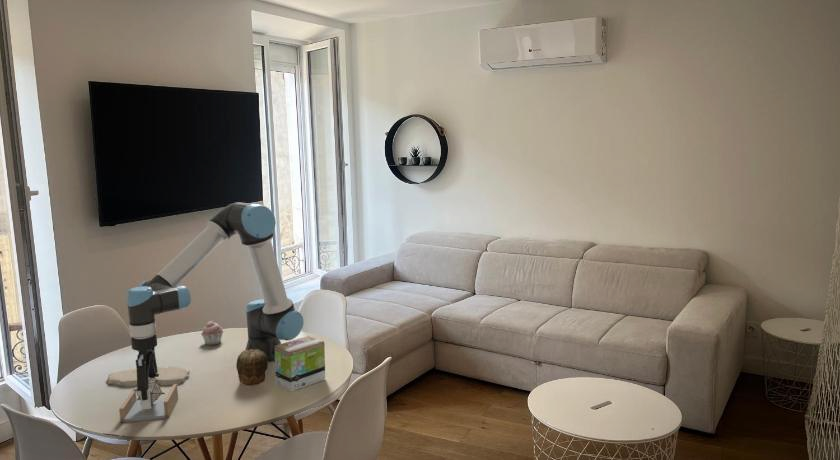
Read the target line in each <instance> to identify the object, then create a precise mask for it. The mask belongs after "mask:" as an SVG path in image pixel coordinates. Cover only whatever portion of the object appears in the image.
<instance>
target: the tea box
mask: <svg viewBox="0 0 840 460" xmlns="http://www.w3.org/2000/svg"><path fill="white" fill-rule="evenodd" d="M325 351H326V350H325V341H324V340H321V339H319V338H315V337H314V336H313V337H312V336H309V335H307V336H304V337H300V338H297V339H296V338H295V339H292V340H288V341H287V342H283V343H281V344H279V345H276V346H275V361H274V367H275V368H274V371H275V372H274V373H275V385H276V386H278V387H280V388H282V389H284V390H287V391H289V392H292V393H293V392H294V391H296V390H298V389H299V390H300V389H301V388H304V387H305V388H306V387H307V386H310V385H312V384H316V383H318V382H322V381H325V380H326V356H325V355H326V354H325V353H326V352H325ZM324 379H325V380H324Z"/></svg>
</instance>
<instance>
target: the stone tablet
mask: <svg viewBox="0 0 840 460" xmlns="http://www.w3.org/2000/svg"><path fill="white" fill-rule="evenodd" d="M157 370H158V372H157V373H156V374H159V377H155V378H156V380H158V381H157V383H158V384H159V383H160V385H159V386H173V384H177V385H181V384H183V383H185V381H186V380H188V379H189V378H190V374H191V372H190V371H191V370H189V369H185V368H183V367H180V366H179V367H177V366H168V367H165V366H162V367H160V366H159V367H158V366H157ZM149 378H150V377H149ZM107 383H108V385H115V386H120V387H121V386H122V387H130V388H131V387H137V368H133V369H125V370H120V371H117V372H111V373H109V375H108V376H107Z"/></svg>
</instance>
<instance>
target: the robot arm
mask: <svg viewBox="0 0 840 460" xmlns="http://www.w3.org/2000/svg"><path fill="white" fill-rule="evenodd" d="M276 222H277V221H276V217H275V214H274V213H273V211H272V210H271V209H270V208H269V207H267V206H265V205H263V204H259V203H250V202H249V203H246V202H241V201H239V202H238V201H237V202H234V203H233V202H232V203H230V204H228V205H227V206H225V207H223V208H222V209H221V210H220V211H218V212H217V213H216V214H215V215H214V216H212V217H211V218H210V219H209V220H208V221H207V224H206V227H205V228H203V230H202V231H201V232H200V233H199V234H198V235H197V236H196V237H195V238H193V239H192V240H191V242H190V243H188V244H187V245H186V246H185V247H184V248H183V249H181V251H180V252H179V253H178V254H177V255H176V256H174V258H173V259H172V260H170V261H169V262H168V264H166V265H165V266H164V267H163V268H162V269H161V270H160V271H159V272H157V274H156V275H154V277H153V278H151V279H149V280H144V281H142V282H141V283H139V285H138V286H135V287H132V288H130V289H128V290H127V293H126V306H127V313H128V320H129V321H128V322H129V326H128V328H127V329H128V330H129V331H130V345H131V349H132V350H134V351H136V352H138V354H137V355H136V356H137V358H136V359H135V366H136V369H137V386H136V389H137V391H140V397H141V407H142V409H151V399H150V388H148V380H151V381H156V378H155V377H159V374H156V373H157V372H158V370H157V367H158V366H157V358H156V351H155V350H156V349H155V348H156V347H157V345H158V337H157V326H156V317H155V316H156V315H160V314H164V313H168V312H172V311H179V310H181V309H184V308H187V307H189V306H190V304H191V302H192V295H191V292H190V289H189V288H188V287H187V286H186V285H179V284H180V283H182V281H183V280H184V279H186V278H187V277H188V275H189V274H190V273H192V272H193V270H195V269H196V268H197V267H198V266H199V265H200V264H201V262H203V261H204V260H205V259H206V258H207V257H208V256H209V255H210V254H211V253H212V252H213V251H214V250H215V249H216V248H217V247H218V246H219V245H220V244H221V243H222V242H227V241H229V240H230V238H231V237H233V236H235V235H238V236H239V238H240V242H241V244H242V246H244V247H247V249H248V253H249V257H250V260H251V263H252V266H253V270H254V274H255V276H256V279H257V280H256V281H257V283H258V287H259V289H260V293H261V296H262V299H256V300H252V301H249V302H248V303H247V304H246V305H245V306H246V309H245V314H246V327H247V342H246V347H245V350H250V349H252V350H256V349H258V350H260V351H262V352H264V353H265V354H266V356H267V359H268V363H271V362H275V346H276V345H279V344H282V342H281V341H287V342H289V341H293V340H295V339H296V338H297V337H298V336H299V334H300V333H302V332H301V331H302V330H303V327H304V320H305V319H304V316H303V314H302V313H301V312H299V311H297V310H296V308H295V305H294V302H293V300H292V299H290V298H289V297H288V295H287V292H286V288H285V285H284V282H283V279H282V278H283V277H282V274H281V271H280V268H279V265H278V262H277V257H276V254H275V250H274V247H273V243H272V239H273V238H274V237H275V236H274V235H275V234H274V231H275V227H276ZM149 377H150V378H149Z"/></svg>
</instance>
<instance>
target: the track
mask: <svg viewBox="0 0 840 460" xmlns="http://www.w3.org/2000/svg"><path fill="white" fill-rule="evenodd" d="M137 399H138V398H137V393H136V391H134V390H131V391H130V393H128V395H127V397H126V398H125V400H124V401H123V403H122V404H121V405H120V407H119V408H118V409H119V419H120V423H129V422H142V421H152V420H162V419H170V417H171V416H172V413H173V411H174V409H175V407H176V405H177V403H178V401H179V393H178V384H173V385H171V388H170V390H169V391H168V393H167V395H166V397H161V398H160V397H158V398H157V400H155V401H154V402H153V406H151V409H142V407H141V404H140V403H141V401H140V400H137Z"/></svg>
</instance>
